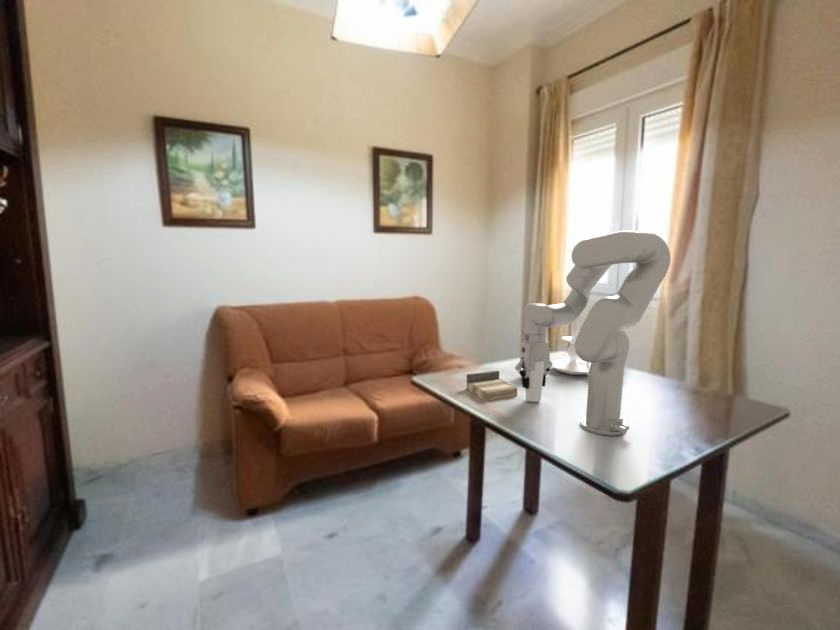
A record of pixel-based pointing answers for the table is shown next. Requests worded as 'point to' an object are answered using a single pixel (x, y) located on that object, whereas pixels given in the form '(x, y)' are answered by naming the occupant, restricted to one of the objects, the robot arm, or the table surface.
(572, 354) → the candlestick
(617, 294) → the robot arm
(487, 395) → the dock
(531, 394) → the white tapered cup
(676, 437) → the table surface
